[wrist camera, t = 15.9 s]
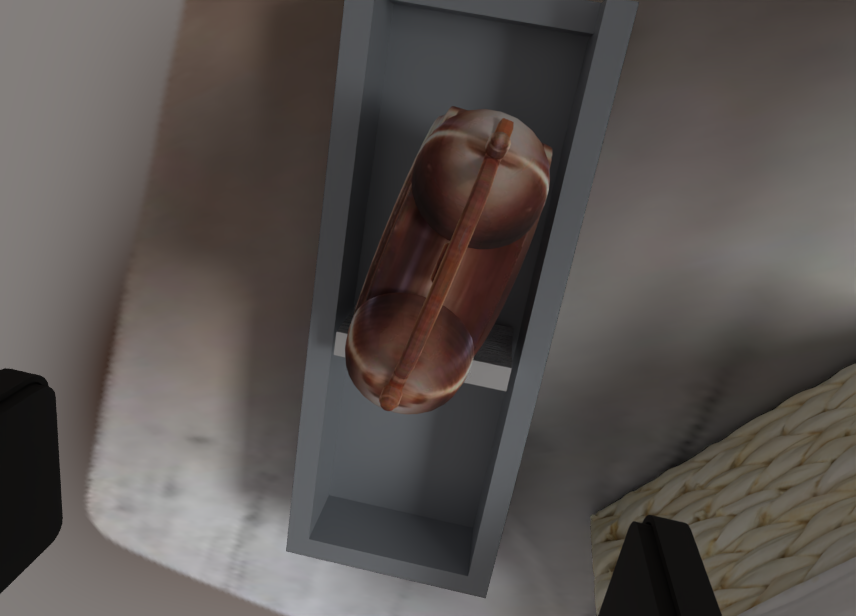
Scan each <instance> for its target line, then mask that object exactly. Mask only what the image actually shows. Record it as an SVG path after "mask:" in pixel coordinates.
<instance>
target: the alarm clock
mask: <svg viewBox="0 0 856 616" xmlns="http://www.w3.org/2000/svg"><path fill="white" fill-rule="evenodd" d="M551 160H552V148H551V147H550V146H548V145H546V144H544V143H542V142H540V140H539V139H538V138H537V136H536V135H535V133H534V132H533V131H532V130H531V129H530V128H529V127H527V126H526V125H525V124H524V123H522V122H521V121H520V120H519V119H518V118H515V117H513V116H511V115H508V114H506V113H503V112H501V111H495V110H490V109H478V110H465V109H462V108H459V107H455V106H451V107H450V108H449V110H448V111H447V113H446V114H445V115H442V116H439V117H438V118H437V119H436V120H435V122H434V123H433V125H432V126H431V128H430V130H429V132H428V134H427V136H426V138H425V139H424V141H423V143H422V145H421V148H420V150H419V152H418V154H417V156H416V158H415V160H414V162H413V164H412V167H411V169H410V171H409V173H408V175H407V178H406V180H405V182H404V184H403V187H402V189H401V191H400V194H399V196H398V198H397V201H396V203H395V205H394V208H393V210H392V213H391V215H390V217H389V220H388V222H387V225H386V227H385V230H384V232H383V235H382V237H381V240H380V242H379V245H378V247H377V250H376V253H375V255H374V258H373V260H372V263H371V265H370V268H369V271H368V274H367V276H366V279H365V282H364V285H363V288H362V291H361V293H360V296H359V299H358V303H357V306H356V309H355V312H354V316H353V319H352V322H351V324H350V327H349V330H348V334H347V339H346V345H345V359H346V367H347V371H348V374H349V377H350V378H351V380H352V382H353V384H354V385H355V387H356V388H357V389H358V390H359V391H360V392H361V394H362V395H363V396H364V397H365V398H367V399H368V400H369V401H371V402H372V403H373V404H375V405H377V406H379V407H381V408H382V409H384V410H385V411H391V412H394V413H400V414H419V413H425V412H430V411H433V410H435V409H436V408H438V407H440V406H442V405H444V404H445V403H447V402H448V401H449V400H450V399H451V398H452V397H453V396H454V395H455V393H456V392H457V391H458V389H459V388H460V386H461V385H462V384H463V382H464V381H465V379H466V377H467V374H468V372H469V370H470V367H471V365H472V362H473V357H474V356H475V354H476V353H477V352H478V350H479V349H480V348H481V346H482V345H483V343H484V341H485V340H486V338H487V336H488V335H489V333H490V331H491V329H492V327H493V326H494V324H495V322H496V320H497V318H498V316H499V314H500V312H501V310H502V308H503V306H504V304H505V302H506V300H507V298H508V296H509V293H510V291H511V289H512V287H513V285H514V282H515V280H516V278H517V276H518V273H519V271H520V269H521V266H522V264H523V261H524V259H525V256H526V254H527V251H528V249H529V246H530V244H531V241H532V238H533V236H534V233H535V230H536V227H537V224H538V221H539V218H540V215H541V212H542V210H543V207H544V205H545V202H546V198H547V194H548V191H549V184H550V172H549V169H550V165H551Z"/></svg>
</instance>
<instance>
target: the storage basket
mask: <svg viewBox="0 0 856 616" xmlns="http://www.w3.org/2000/svg"><path fill="white" fill-rule="evenodd" d="M647 515H654V516H658V517H662V518H667V519H671V520H676V521H680V522H684V523H686V524H688V525H689V527H690V529H691V531H692V534H693V536H694V539H695V542H696V545H697V548H698V550H699V553H700V556H701V559H702V561H703V564H704V567H705V570H706V572H707V575H708V578H709V581H710V583H711V586H712V589H713V592H714V595H715V597H716V600H717V603H718V606H719V608H720V611H721V614H722V616H856V363H855V364H852V365H850V366H847V367H846V368H844V369H842V370H840V371H839V372H838V373H836V374H835V375H834V376H833V377H831V378H830V379H828V380H827V381H825V382H823V383H821V384H820V385H818V386H816V387H814V388H811V389H808V390H805V391H802V392H800V393H798V394H796V395H794V396H792V397H791V398H789V399H787V400H786V401H784V402H783V403H782V404H780V405H779V406H778V407H777V408H775V409H774V410H772V411H769V412H767V413H765V414H763V415H761V416H759V417H757V418H755V419H753V420H752V421H750V422H748V423H747V424H745V425H743V426H741V427H740V428H739V429H737V430H736V431H734V432H733V433H731V434H730V435H729V436H728V437H726V438H725V439H724V440H722V441H720V442H718V443H714V444H712V445H710V446H709V447H707V448H705V450H704V451H702V452H700V453H699V454H697V455H696V456H695V457H693V458H691V459H689V460H688V461H686V462H684V463H683V464H681V465H679V466H676V467H674V468H670V469H669V470H667V471H666V472H664V473H663V474H662V475H661V476H659V477H658V478H656V479H655V480H653V481H651V482H649V483H647V484H645V485H644V486H642V487H641V488H639V489H637V490H635V491H631V492H629V493H628V494H626V495H625V496H624V497H623V498H622V499H620V500H618V501H616V502H615V503H613V504H611V505H609V506H608V507H606V508H604V509H603V510H600V511H598V512H597V513H596V515H594V514H592V515H591V516H590V518H591V521H590V523H591V526H590V529H591V544H592V558H593V573H594V576H595V580H594V584H595V588H594V594H595V607H596V611H597V613H596V615H597V616H598V615H599V612H600V609H601V606H602V603H603V600H604V597H605V594H606V592H607V589H608V586H609V583H610V580H611V577H612V574H613V571H614V569H615V566H616V563H617V560H618V557H619V554H620V551H621V549H622V546H623V543H624V540H625V537H626V534H627V531H628V529H629V526H630V524H631V523H632V522H633V521H636V522H640V523H642V522H643V520H644V518H645V517H646V516H647Z"/></svg>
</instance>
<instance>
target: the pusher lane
mask: <svg viewBox="0 0 856 616" xmlns="http://www.w3.org/2000/svg"><path fill="white" fill-rule="evenodd" d="M638 4H639V2H636V1H630V0H604V1H603V2H602V3H600V2H594V1H588V0H345V1H344V10H343V19H342V29H341V38H340V48H339V57H338V67H337V76H336V85H335V95H334V104H333V114H332V123H331V132H330V142H329V151H328V161H327V170H326V180H325V189H324V198H323V208H322V217H321V227H320V236H319V246H318V255H317V264H316V274H315V283H314V293H313V302H312V312H311V321H310V330H309V340H308V349H307V359H306V368H305V377H304V387H303V396H302V406H301V415H300V425H299V434H298V443H297V453H296V462H295V472H294V481H293V491H292V500H291V509H290V519H289V528H288V538H287V547H286V551H287V552H291V553H296V554H300V555H304V556H308V557H313V558H317V559H321V560H325V561H330V562H334V563H338V564H342V565H347V566H351V567H355V568H359V569H363V570H368V571H372V572H376V573H380V574H385V575H389V576H393V577H397V578H402V579H406V580H410V581H414V582H419V583H423V584H427V585H431V586H436V587H440V588H444V589H448V590H453V591H457V592H461V593H465V594H470V595H474V596H478V597H482V598H486V595H487V591H488V587H489V583H490V579H491V575H492V571H493V567H494V564H495V560H496V556H497V552H498V548H499V544H500V540H501V536H502V532H503V529H504V525H505V521H506V517H507V513H508V509H509V505H510V501H511V497H512V494H513V490H514V486H515V482H516V478H517V474H518V470H519V466H520V463H521V459H522V455H523V451H524V447H525V443H526V439H527V435H528V431H529V428H530V424H531V420H532V416H533V412H534V408H535V404H536V400H537V396H538V393H539V389H540V385H541V381H542V377H543V373H544V369H545V365H546V362H547V358H548V354H549V350H550V346H551V342H552V338H553V334H554V330H555V327H556V323H557V319H558V315H559V311H560V307H561V303H562V299H563V296H564V292H565V288H566V284H567V280H568V276H569V272H570V268H571V264H572V261H573V257H574V253H575V249H576V245H577V241H578V237H579V233H580V229H581V226H582V222H583V218H584V214H585V210H586V206H587V202H588V198H589V195H590V191H591V187H592V183H593V179H594V175H595V171H596V167H597V163H598V160H599V156H600V152H601V148H602V144H603V140H604V136H605V132H606V128H607V125H608V121H609V117H610V113H611V109H612V105H613V101H614V97H615V94H616V90H617V86H618V82H619V78H620V74H621V70H622V66H623V62H624V59H625V55H626V51H627V47H628V43H629V39H630V35H631V31H632V27H633V24H634V20H635V16H636V12H637V8H638ZM451 106H455V107H459V108H462V109H465V110H478V109H490V110H495V111H501V112H503V113H506V114H508V115H511V116H513V117H515V118H518V119H519V120H520V121H521V122H522V123H524V124H525V125H526V126H527V127H529V128H530V129H531V130H532V131H533V132H534V133H535V135H536V136H537V138H538V139H539V140H540V142H542V143H544V144H546V145H548V146H550V147H551V148H552V160H551V165H550V169H549V172H550V184H549V191H548V194H547V198H546V202H545V205H544V207H543V210H542V212H541V215H540V218H539V221H538V224H537V227H536V230H535V233H534V236H533V238H532V241H531V244H530V246H529V249H528V251H527V254H526V256H525V259H524V261H523V264H522V266H521V269H520V271H519V273H518V276H517V278H516V280H515V282H514V285H513V287H512V289H511V291H510V293H509V296H508V298H507V300H506V302H505V304H504V306H503V308H502V310H501V312H500V314H499V316H498V318H497V320H496V322H495V324H496V325H501V326H506V327H510V328H513V341H512V369H511V374H510V378H509V382H508V386H507V391H502V390H497V389H492V388H487V387H483V386H478V385H473V384H469V383H464V382H463V384H462V385H461V386H460V388H459V389H458V391H457V392H456V393H455V395H454V396H453V397H452V398H451V399H450V400H449V401H448V402H447V403H445V404H444V405H442V406H440V407H438V408H436V409H435V410H433V411H430V412H425V413H419V414H400V413H394V412H391V411H385V410H384V409H382V408H381V407H379V406H377V405H375V404H373V403H372V402H371V401H369V400H368V399H367V398H365V397H364V396H363V395H362V394H361V392H360V391H359V390H358V389H357V388H356V387H355V385H354V384H353V382H352V380H351V378H350V377H349V374H348V371H347V367H346V359H345V357H341V356H336V355H334V348H335V340H336V332H337V330H338V329H339V328H340V326H341V325H342V323H343V322H344V321H345V319H346V318H347V317H348V315H349V314H350V312H351V311H352V310H353V308H354V307H355V306H356V304H357V303H358V299H359V296H360V293H361V291H362V288H363V285H364V282H365V279H366V276H367V274H368V271H369V268H370V265H371V263H372V260H373V258H374V255H375V253H376V250H377V247H378V245H379V242H380V240H381V237H382V235H383V232H384V230H385V227H386V225H387V222H388V220H389V217H390V215H391V213H392V210H393V208H394V205H395V203H396V201H397V198H398V196H399V194H400V191H401V189H402V187H403V184H404V182H405V180H406V178H407V175H408V173H409V171H410V169H411V167H412V164H413V162H414V160H415V158H416V156H417V154H418V152H419V150H420V148H421V145H422V143H423V141H424V139H425V138H426V136H427V134H428V132H429V130H430V128H431V126H432V125H433V123H434V122H435V120H436V119H437V118H438V117H439V116H442V115H445V114H446V113H447V111H448V110H449V108H450V107H451Z"/></svg>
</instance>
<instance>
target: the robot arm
mask: <svg viewBox="0 0 856 616" xmlns="http://www.w3.org/2000/svg"><path fill="white" fill-rule="evenodd" d="M60 483H61V482H60V467H59V450H58V431H57V413H56V397H55V392H54V391H53V389H52V388H50V387H49V386H48V382H47V381H46V379H45V378H44V377H42V376H40V375H36V374H31V373H26V372H22V371H17V370H13V369H2V370H0V593H1V592H3V590H4V589H6V588H7V587H8V586H9V585H10V584H11V583H12V582H13V581H14V580H15V579H16V578H17V577H18V576H19V575H20V574H21V573H22V572H23V571H24V570H25V569H26V568H27V567H28V566H29V565H30V564H31V563H32V562H33V561H34V560H35V559H36V558H37V557H38V556H39V555H40V554H41V553H42V552H43V551H44V550H45V549H46V548H47V547H48V546H49V545H50V544H51V543H52V542H53V541H54V540H55V538H56V537H57V535H58V533H59V531H60V529H61V525H62V519H63V517H62V500H61V484H60ZM598 616H722V614H721V611H720V608H719V606H718V603H717V600H716V597H715V595H714V592H713V589H712V586H711V583H710V581H709V578H708V575H707V572H706V570H705V567H704V564H703V561H702V559H701V556H700V553H699V550H698V548H697V545H696V542H695V539H694V536H693V534H692V531H691V529H690V527H689V525H688V524H686V523H684V522H680V521H676V520H671V519H667V518H662V517H658V516H654V515H647V516H646V517H645V518H644V520H643V522H642V523H640V522H636V521H633V522H632V523H631V524H630V526H629V529H628V531H627V534H626V537H625V540H624V543H623V546H622V549H621V551H620V554H619V557H618V560H617V563H616V566H615V569H614V571H613V574H612V577H611V580H610V583H609V586H608V589H607V592H606V594H605V597H604V600H603V603H602V606H601V609H600V612H599V615H598Z"/></svg>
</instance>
